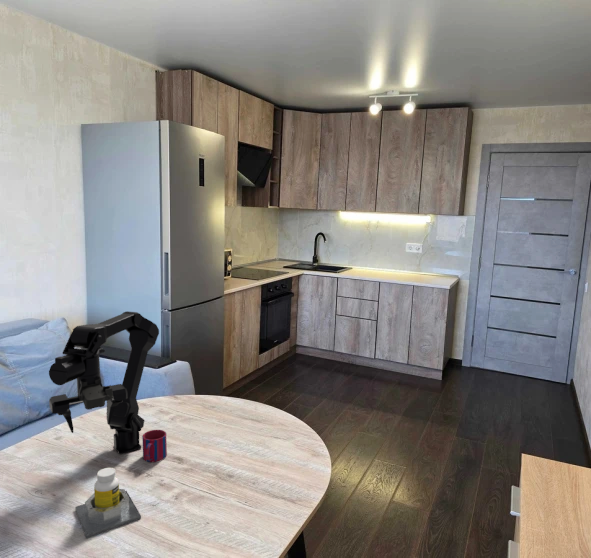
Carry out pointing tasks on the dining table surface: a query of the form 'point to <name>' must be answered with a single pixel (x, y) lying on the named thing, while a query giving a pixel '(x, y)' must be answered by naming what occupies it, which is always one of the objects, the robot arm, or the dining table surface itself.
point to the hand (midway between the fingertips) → (90, 428)
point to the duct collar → (106, 515)
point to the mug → (154, 445)
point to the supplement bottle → (106, 489)
